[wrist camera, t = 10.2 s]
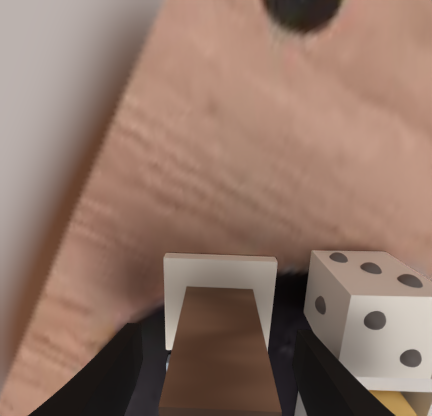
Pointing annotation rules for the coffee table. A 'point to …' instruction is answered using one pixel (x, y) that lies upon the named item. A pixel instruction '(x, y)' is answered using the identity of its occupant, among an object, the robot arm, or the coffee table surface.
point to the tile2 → (217, 283)
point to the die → (371, 313)
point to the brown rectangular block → (219, 358)
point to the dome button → (394, 402)
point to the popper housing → (409, 387)
